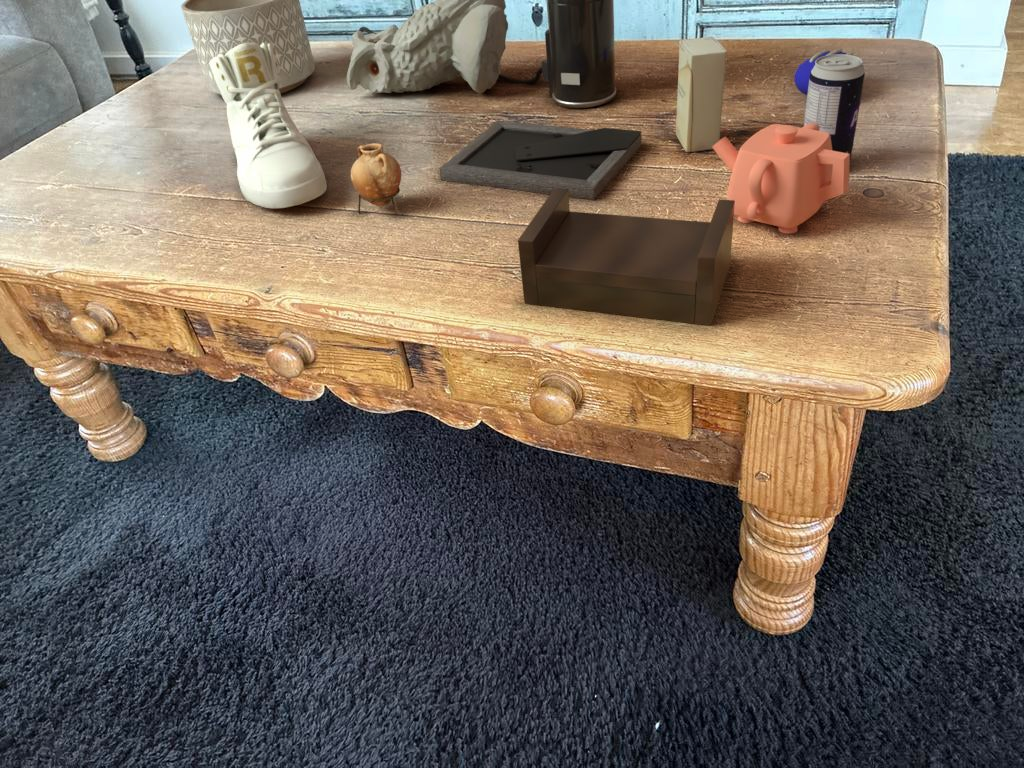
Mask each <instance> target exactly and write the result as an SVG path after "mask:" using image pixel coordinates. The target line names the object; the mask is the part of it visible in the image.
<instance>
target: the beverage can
mask: <svg viewBox="0 0 1024 768" xmlns="http://www.w3.org/2000/svg"><path fill="white" fill-rule="evenodd" d="M863 63H864V61H863V59H862V58H860V57H859V56H857V55H853V56H852V55H845V54H834V55H827V56H823V57H820V58H818V59H817V60H816V61H815V66H814V67H813V69H812V71H811V72H810V78H809V86H808V94H807V95H806V103H805V112H804V120H803V126H805V125H806V124H809V123H816V124H818V125H819V128H820V129H819V131H821V132H826V133H828V134H829V135H830V138H831V144H832V151H837V152H843V153H848V154H850V161H852V156H853V155H852V154H853V149H854V144H855V137H856V132H857V131H856V130H857V124H858V119H859V118H858V117H859V112H860V108H861V107H860V106H861V102H862V101H861V100H862V95H863V88H864V82H865V76H866V72H865V68H864V69H863V67H864V65H863ZM862 65H863V66H862Z"/></svg>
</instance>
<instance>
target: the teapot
mask: <svg viewBox="0 0 1024 768" xmlns="http://www.w3.org/2000/svg"><path fill="white" fill-rule="evenodd" d="M819 129H820V128H819V125H818V124H816V123H809V124H806V125H805V126H804V125H803V126H802V127H800V126H794V125H790V124H780V123H772V124H770V125H768V126H765V127H764V128H762V129H760V130H759V131H757V132H755V133H754V134H753V135H751V136H750V137H749V138H748V139H747V140H746V141H745V142H744V143H743V144H742V145H741V146H740V148H739V150H737V149H736V147H734V145H733V143H731V141H730V140H729V138H727V136H724V137H722V138H720V140H719V141H718V142H717V143H716V144H715V145H713V146H712V148H713V149H712V150H713V151H714V152H715V153H716V154H717V156H718V157H719V158H720V159H721V161H722V162H723V163H724V165H726V167H727V168H728V169H729V171H730V172H731V173H730V174H731V175H730V179H729V184H728V189H727V196H726V197H727V198H726V200H734V201H735V206H734V216H736V217H737V221H738V222H740V223H743V224H750V223H754V222H757V223H762V224H765V225H770V226H776V227H778V231H779V232H780V233H782V234H795V233H796V232H798V226H800V225H801V224H803V223H804V222H806V221H807V220H808V219H810V218H811V217H812V216H814V215H815V214H817V213H818V211H819V210H820V209H821V207H822V206H823V205H824V204H825V201H828V200H830V199H833V198H836V197H839V196H842V195H844V194H845V193H846V192H847V191H848V190H849V189H850V162H851V160H850V154H848V153H843V152H837V151H832V144H831V138H830V135H829V134H828V133H826V132H821V131H819Z"/></svg>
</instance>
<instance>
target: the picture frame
mask: <svg viewBox="0 0 1024 768" xmlns="http://www.w3.org/2000/svg"><path fill="white" fill-rule="evenodd" d="M642 138H643V137H642V130H632V129H631V130H630V129H623V128H622V129H621V128H612V127H601V128H597V129H589V128H588V129H587V128H579V127H578V128H577V127H569V126H568V127H567V126H558V125H557V126H556V125H547V124H535V123H525V122H516V121H515V122H514V121H504V120H498V121H496V122H495V123H493V124H492V125H491V126H489V128H487V129H486V130H484V131H483V132H482V133H481V134H480V135H478V136H477V137H476V138H475V139H474V140H472V141H471V142H470V143H469V144H467V145H466V146H465V147H464V148H462V149H461V150H460V151H459V152H458V153H455V155H454V156H453V157H451V158H450V159H448V160H447V161H446V162H445V163H444V164H443V165H441V166H440V167H439V168H438V169H439V176H440V180H441V181H446V182H456V183H462V184H471V185H477V186H484V187H491V188H492V187H493V188H500V189H507V190H508V189H509V190H514V191H515V190H516V191H523V192H530V193H537V194H545V195H550V194H551V192H552V191H553V190H554V188H561V189H568V192H569V198H575V199H583V200H591V201H594V200H595V199H596V198H597V197H598V196H599V195H600V194H601V192H602V191H603V190H604V189H605V188H606V187H607V186H608V185H609V184H610V183H611V181H612V180H613V179H614V178H615V176H617V175H618V174H619V172H620V171H621V170H622V169H623V168H624V167H625V165H627V163H628V162H629V161H630V160H631V159H632V158H633V156H634V155H635V154H636V153H637V152H638V151H639V150H640V149H641V147H642V146H643V145H642V141H643V139H642Z"/></svg>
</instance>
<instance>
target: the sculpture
mask: <svg viewBox="0 0 1024 768" xmlns="http://www.w3.org/2000/svg"><path fill="white" fill-rule="evenodd" d="M506 8H507V5H506V0H434V1H432V2H429V3H427V4H424V5H421V6H420V7H419V9H416V10H415V11H414V13H413V14H412V16H409V17H408V18H406V20H405V22H402V24H401V25H400V26H399V27H398V26H397V25H396V24H392V25H391V26H388V27H387V28H386V29H383V30H380V31H379V32H377V33H376V32H374V33H371V34H368V33H367V34H365V33H364V31H363V32H362V31H359V30H357V31H356V32H354V33H353V34H352V35H351V42H352V45H353V47H354V48H353V49H352V52H351V56H350V58H349V59H350V62H349V65H348V69H347V73H346V78H345V79H346V83H347V87H348V89H350V90H351V91H352V90H356V89H357V87H358V86H359V85H360V87H361V88H362V89H364V90H368V91H370V92H371V93H372V94H380V93H386V94H392V93H393V92H394V93H396V94H397V93H398V94H404V93H405V92H416V91H419V92H421V91H422V92H423V91H425V90H431V89H432V88H433V87H434V86H435V87H436V86H439V85H440V84H443V83H445V82H447V81H449V82H450V81H454V80H456V79H457V78H458V77H459V76H461V78H463V80H464V81H465V82H467V83H468V85H469V86H470V87H471V89H472V90H473V91H474V92H475V93H478V94H483V93H485V92H486V91H487V89H488V90H491V89H492V87H493V86H495V85H496V83H497V80H498V79H497V78H498V77H499V74H500V73H501V60H502V57H503V56H504V52H505V50H506V39H507V33H508V30H509V22H508V20H507V16H508V15H507V14H505V10H506ZM375 33H376V34H375Z"/></svg>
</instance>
